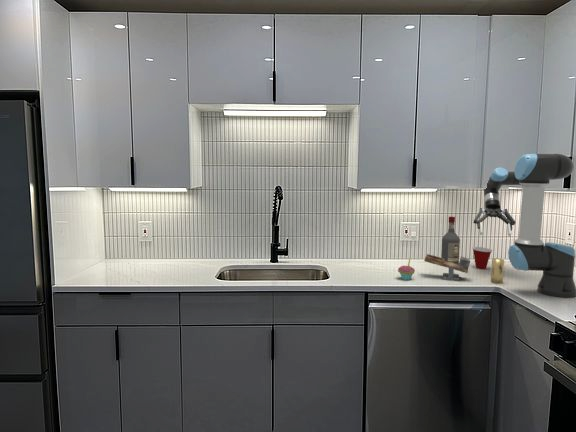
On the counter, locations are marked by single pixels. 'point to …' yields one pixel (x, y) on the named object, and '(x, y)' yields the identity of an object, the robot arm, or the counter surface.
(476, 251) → the plastic cup
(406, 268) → the cupcake
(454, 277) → the pivot stand
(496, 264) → the cylinder
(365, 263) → the counter surface
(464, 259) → the balance beam
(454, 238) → the liquor
